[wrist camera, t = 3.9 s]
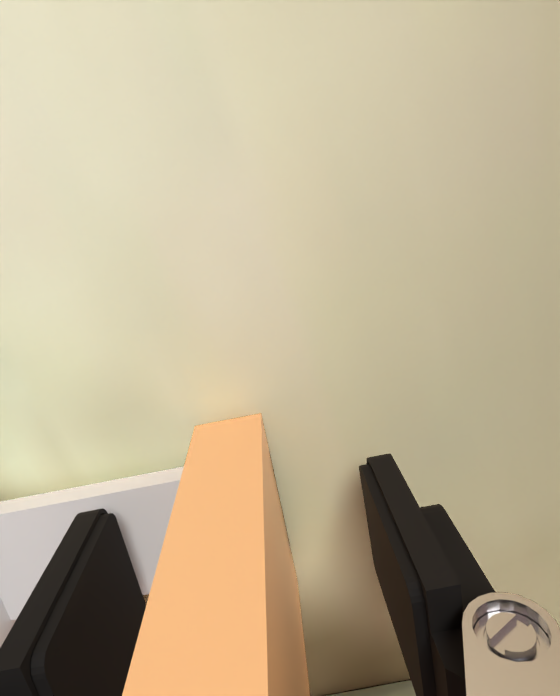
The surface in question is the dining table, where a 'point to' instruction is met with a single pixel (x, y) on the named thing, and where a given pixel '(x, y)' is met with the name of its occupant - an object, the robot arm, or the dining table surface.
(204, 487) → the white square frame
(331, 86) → the dining table surface
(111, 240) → the dining table surface
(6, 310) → the dining table surface
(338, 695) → the tray
